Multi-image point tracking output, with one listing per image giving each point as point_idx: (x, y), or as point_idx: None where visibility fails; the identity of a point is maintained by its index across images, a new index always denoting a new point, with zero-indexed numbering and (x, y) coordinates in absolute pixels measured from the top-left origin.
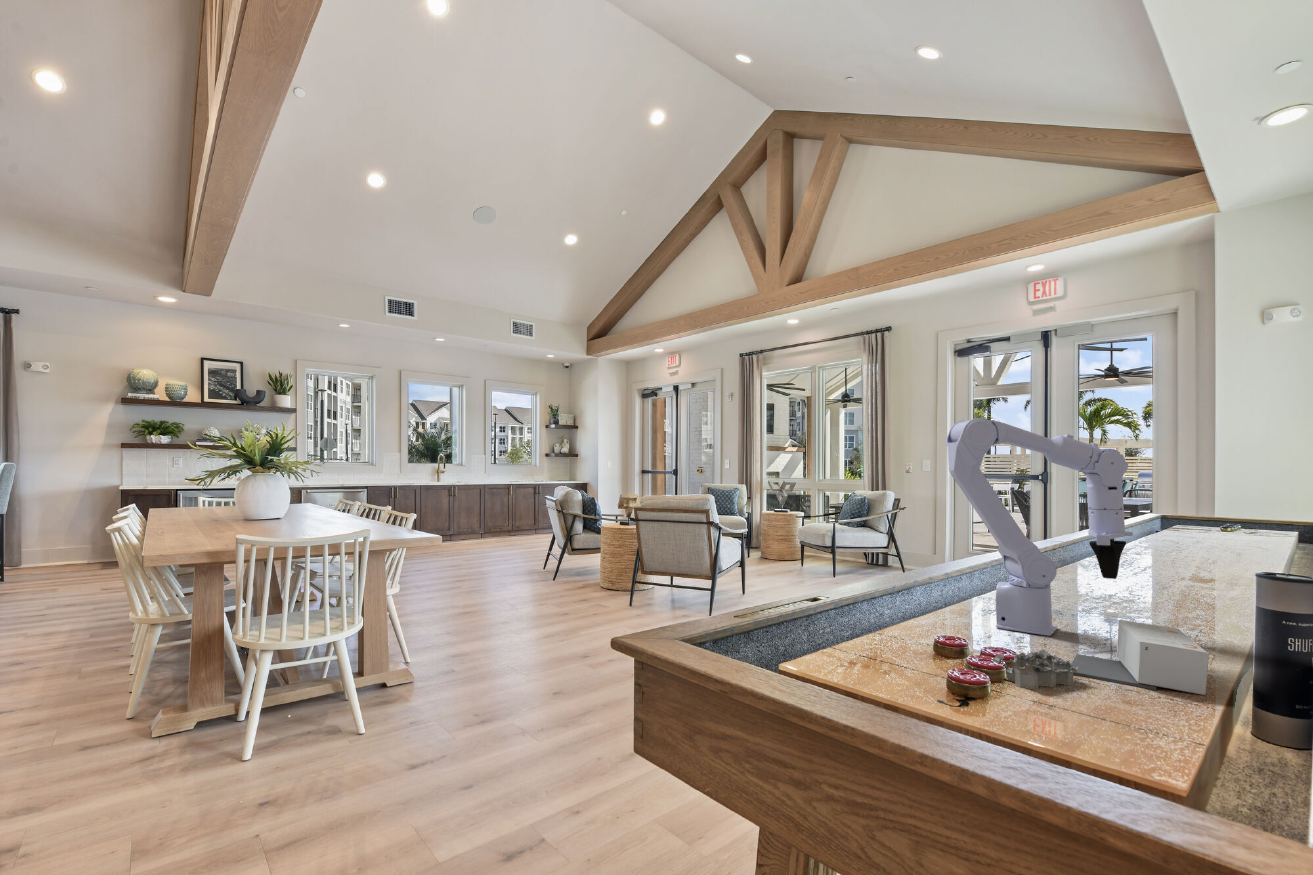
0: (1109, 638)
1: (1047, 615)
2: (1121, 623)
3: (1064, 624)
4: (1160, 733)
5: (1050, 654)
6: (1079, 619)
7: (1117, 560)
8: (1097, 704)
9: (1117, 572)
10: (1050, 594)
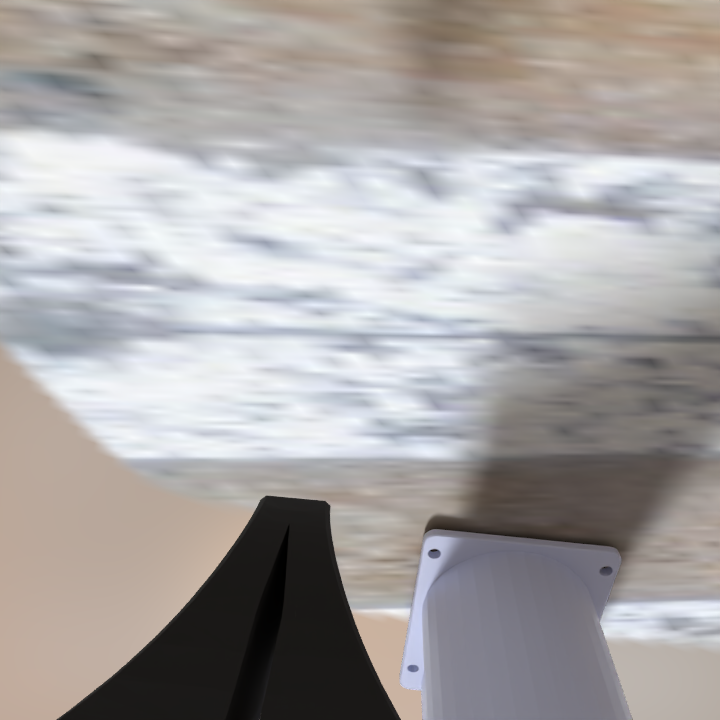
0: (510, 340)
1: (580, 621)
2: None
3: None
4: None
5: None
6: (151, 451)
7: (360, 648)
8: None
9: (321, 534)
10: (567, 709)
